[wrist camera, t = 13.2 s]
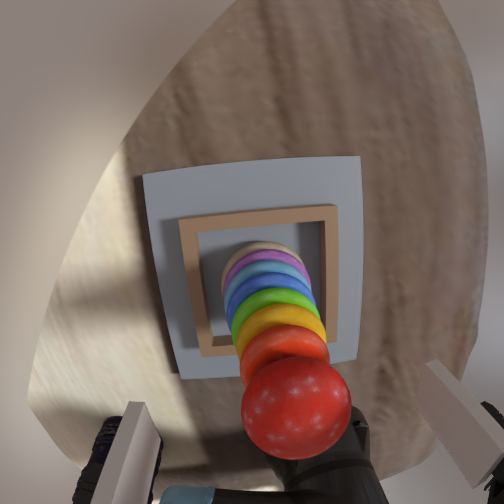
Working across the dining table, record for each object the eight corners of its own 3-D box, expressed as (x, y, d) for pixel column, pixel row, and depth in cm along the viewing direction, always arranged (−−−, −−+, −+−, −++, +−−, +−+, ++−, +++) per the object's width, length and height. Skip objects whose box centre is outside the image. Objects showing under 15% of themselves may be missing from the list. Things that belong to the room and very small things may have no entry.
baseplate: (353, 353, 32) (362, 368, 29) (182, 372, 31) (178, 390, 28) (355, 156, 26) (368, 155, 23) (146, 174, 26) (135, 174, 23)
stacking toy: (203, 282, 27) (160, 445, 9) (263, 220, 26) (321, 320, 8) (263, 332, 29) (292, 499, 11) (321, 277, 28) (425, 414, 10)
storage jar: (90, 416, 33) (55, 489, 19) (144, 413, 33) (117, 502, 18) (123, 455, 36) (102, 524, 21) (175, 454, 35) (162, 533, 21)
